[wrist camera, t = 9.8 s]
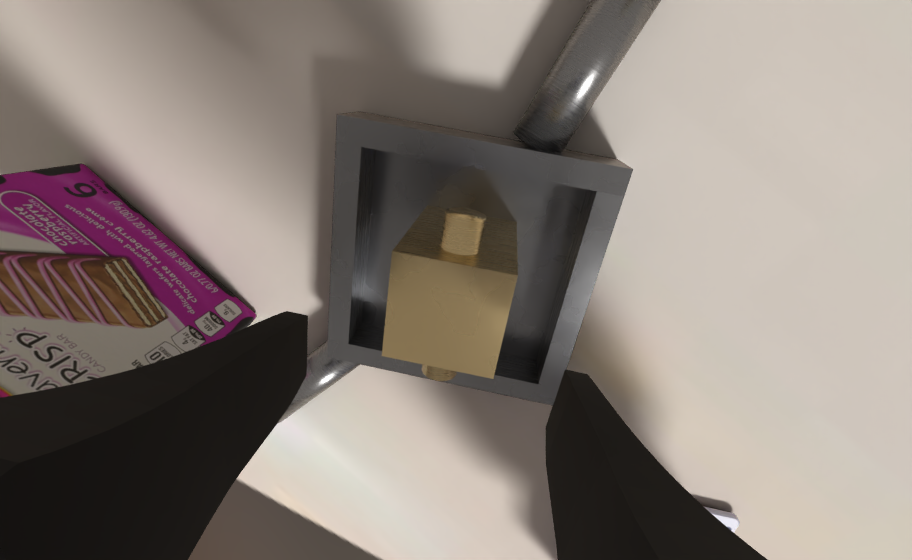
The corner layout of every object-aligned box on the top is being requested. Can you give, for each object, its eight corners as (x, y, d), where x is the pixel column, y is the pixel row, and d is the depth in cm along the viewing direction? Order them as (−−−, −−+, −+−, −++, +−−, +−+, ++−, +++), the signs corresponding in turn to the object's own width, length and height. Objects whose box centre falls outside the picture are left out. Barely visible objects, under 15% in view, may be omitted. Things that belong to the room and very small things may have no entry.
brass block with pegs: (494, 323, 21) (486, 405, 15) (414, 307, 21) (379, 383, 15) (522, 195, 18) (526, 239, 13) (430, 178, 18) (395, 214, 13)
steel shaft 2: (554, 156, 18) (558, 163, 16) (513, 130, 18) (513, 135, 16) (669, -22, 15) (691, -38, 13) (623, -55, 15) (638, -75, 13)
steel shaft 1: (347, 321, 22) (333, 341, 20) (374, 346, 23) (362, 369, 21) (268, 383, 25) (249, 406, 23) (293, 406, 25) (276, 430, 23)
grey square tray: (550, 373, 22) (554, 405, 20) (345, 330, 23) (326, 357, 20) (617, 159, 17) (633, 168, 15) (359, 111, 18) (337, 114, 16)
